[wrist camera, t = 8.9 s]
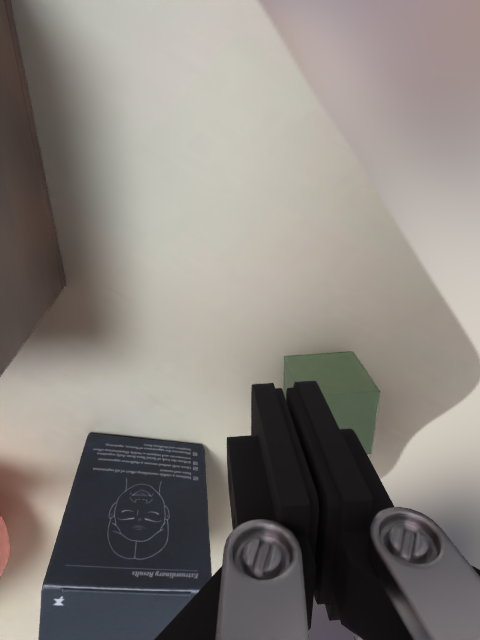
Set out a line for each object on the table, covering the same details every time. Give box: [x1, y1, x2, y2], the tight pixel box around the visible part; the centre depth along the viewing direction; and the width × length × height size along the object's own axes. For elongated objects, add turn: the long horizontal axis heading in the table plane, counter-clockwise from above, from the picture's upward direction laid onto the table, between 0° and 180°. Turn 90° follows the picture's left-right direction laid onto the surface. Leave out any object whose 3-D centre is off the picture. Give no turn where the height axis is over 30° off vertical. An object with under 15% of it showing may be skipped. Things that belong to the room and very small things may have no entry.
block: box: [283, 352, 380, 454], centre depth 27 cm, size 4×4×4 cm
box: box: [39, 433, 212, 640], centre depth 26 cm, size 8×6×11 cm
